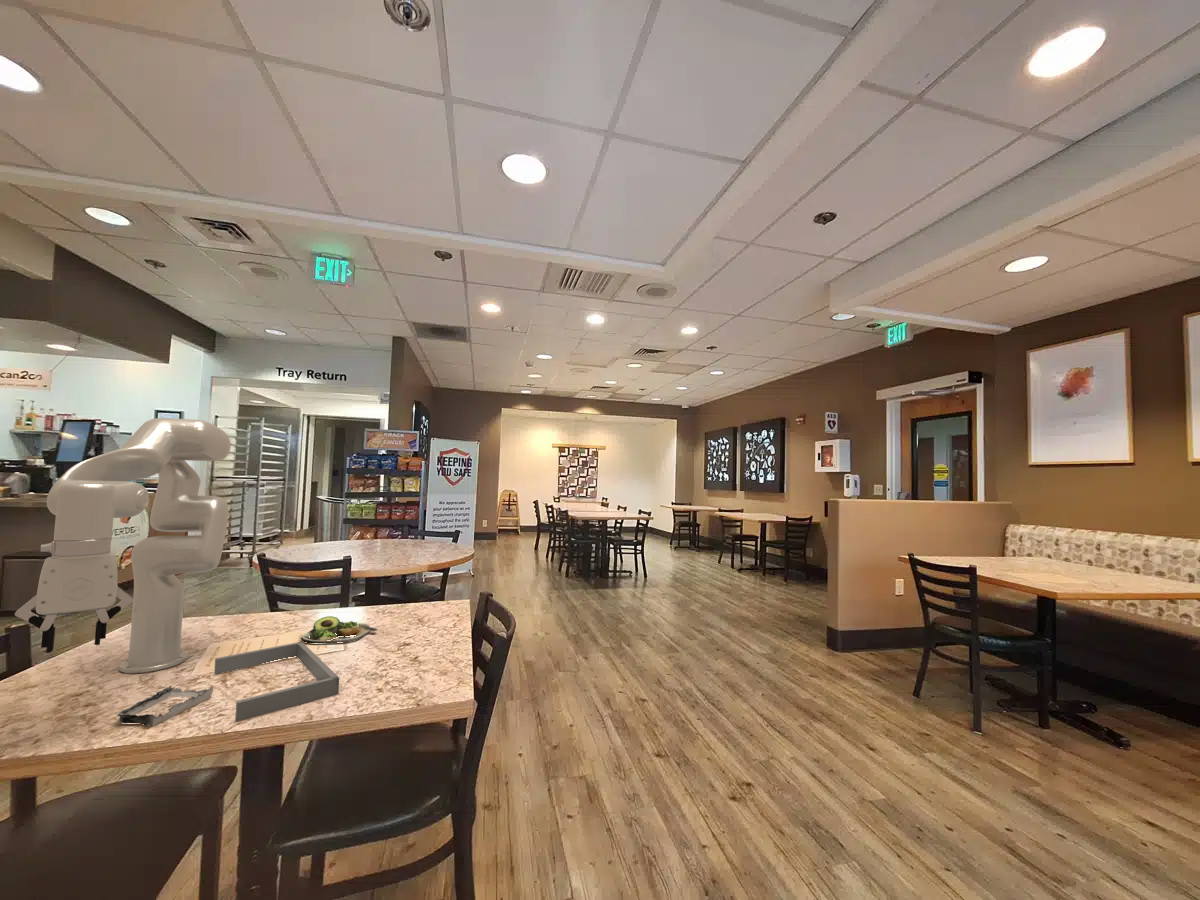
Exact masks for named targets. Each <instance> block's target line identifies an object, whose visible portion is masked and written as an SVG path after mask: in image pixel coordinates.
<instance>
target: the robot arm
mask: <svg viewBox="0 0 1200 900" xmlns="http://www.w3.org/2000/svg"><path fill="white" fill-rule="evenodd" d="M230 451H231V440H230V437H229V436H228V434H227V432H225V431H224V430H223V429H221V428H220V427H218V426H216V425H215V424H213V423H211V422H208V421H206V420H203V419H192V418H174V417H173V418H172V417H159V418H158V417H157V418H156V417H155V418H152V419H148V420H147V421H145V422H144V423H142V424H141V426H140V427H139V428H138V429H137V430H136V431H135V432H134V433H133V435H131V437H130V438H129V439H128V440H127V441H126V442H125V443H124V444H123V446H122V447H120V448H117V449H114V450H110V451H107V452H105V453H102V454H99V455H97V456H93V457H91V458H88V459H85V460H82V461H80V462H78V463H76V464H75V465H72V466H71V467H70V468H68V469H67V470H66V471H65V473H63V474H62V475H61V476H60V477H59V478H58V479H57V480H56V481H55V482H54V484H53V485H52V487H51V488H50V490H49V491H48V493H47V494H48V495H47V496H46V506H47V509H48V510H49V512H50V513H51V514H52V515H54V516H55V521H54V532H53V541H51V542H50V543H44V544H43V543H42V544H41V545H40V553H42V552H47V553H49V554H51V556H49V557H46V558H45V560H44V562H43V565H42V567H41V571H40V575H39V580H38V586H37V589H36V590H37V591H36V594H35V596H33V597H32V598H31V599H29V600H28V601H27V602H26V603H24V604H23V605H22V606H21V607H19V608H18V609H17V610H16V611H15V613H14V616H15V617H17V618H19V619H22V620H23V621H26V622H28V623H29V624H31V625H33V626H34V627H36V628H37V629H39V630H40V631H41V632H42V633H41V634H42V635H41V643H40V645H41V646H40V648H41V649H44V648H46V650H45V654H50V653H51V652H53V651H54V646H55V637H56V627H55V624H54V621H55V619H56V617H57V616H58V615H63V614H71V613H78V612H80V613H81V612H86V611H87V612H88V611H96V615H97V617H98V618H97V621H96V623H95V632H94V633H95V634H94V643H93V645H95V646H100V644H101V640H104V639H106V636H107V624H108V622H109V621H110V620H111V619H112V618H114V617H115V616H116V615H117V614H119V613H120V612H121V611H122V610H123V609H125V608H126V607H127V606H129V605H131V604H132V609H131V611H132V612H131V622H130V623H131V624H130V635H129V646H128V647H129V649H128V659H125V660H124V661H121V663H120V664H119V666H118V671H120V672H122V673H124V674H140V673H142V674H143V673H150V672H155V671H160V670H165V669H168V668H171V667H174V666H177V665H179V664H182V663H183V662H185V661H186V660H187V659H188V655H189V654H188V652H187V651H184V650H181V644H182V631H183V630H182V627H183V613H184V603H185V602H184V601H185V588H184V585H183V584H182V582H181V581H180V579H179V577H177V576H176V575H178V574H197V573H200V574H201V573H208V572H211V571H214V570H216V569H217V567H218V566H219V564H220V562H221V558H222V554H223V550H224V549H223V548H224V544H225V540H226V539H225V537H226V532H227V527H228V522H229V515H230V514H229V506H228V502H227V501H226V499H224V498H223V497H221V496H217V495H199V492H200V485H201V478H200V476H199V474H198V473H197V472H196V471H195V469H194V468H193V467H192V466H191V465H190V464H189V463H188V462H187V461H193V462H194V461H195V462H197V461H198V462H199V461H200V462H221V461H223V460H224V459H226V458H227V457H228V455H229V454H230ZM157 474H158V481H157V483H158V484H157V488H156V491H155V495H154V498H153V499H154V500H153V503H152V507H151V512H150V517H149V524H150V527H151V528H152V529H154V531H155V530H156V531H158V532H165V533H168V532H169V533H181V532H182V533H184V532H185V533H190V532H192V533H193V532H194V533H195V532H196V533H197V532H200V533H201V534H199V535H198V534H197V535H157V536H149V537H145V538H143V539H141V540H139V541H138V542H136V544H135V545H134V546H133V548H132V550H131V555H130V560H131V568H132V574H133V596H131V595H130V594H129V593H127V592H126V591H125V590H124V589H122V588H121V587H119V586H118V577H119V576H118V575H119V574H118V573H119V571H118V559H117V555H116V553H114V552H111V551H112V550H111V549H112V541H113V540H112V536H113V528H114V519H126V518H128V519H129V518H132V517H136V516H138V515H140V514H141V513H143V512H144V511H145V509H146V508H147V506H148V505H149V502H150V493H149V491H148V489H147V488H146V487H145V486H143V485H142V484H141V483H138V482H134V481H137V480H140V479H145V478H150V477H152V476H155V475H157ZM117 598H118V599H120V601H119V602H118V603H117V604H115V603H116V601H117ZM111 606H112V607H111ZM109 607H111V608H110V609H108V608H109ZM34 608H35V611H36V613H35V612H32V609H34ZM41 615H42V616H41ZM43 616H45V618H44V617H43Z"/></svg>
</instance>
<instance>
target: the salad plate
mask: <svg viewBox="0 0 1200 900" xmlns="http://www.w3.org/2000/svg"><path fill="white" fill-rule="evenodd" d="M376 631H378V628H376V627H371V626H370V625H369V624H368V623H363V622H362V623H358V622H357V621H353V620H351V621H350V620H349V622H347V621H346V622H343V621H340V619H339V618H338V617H337V616H336V617H335V616H333V615H332V616H331V615H328V616H324V617H321V618H319V619H318V620H315V622H314V623H313V625H312V629H311V630H309V631H308V632H306V633H303V634H302V635H301V636H300V638H299V639H300V640H301V642H303V641H304V642H307V643H337V642H348V643H350V642H349V641H352V642H354V641H353V640H356V641H358V640H360V639H359V638H361V637H362V636H363V637H364V636H366V635H367V634H369V633H371V632H376ZM335 633H336V634H337V635H336V634H335ZM365 634H366V635H365ZM350 635H356V636H354V637H353V638H350V637H349V638H340V639H335V640H331V639H333V638H336V637H338V636H344V637H345V636H350ZM309 636H310V638H309ZM363 637H362V638H363ZM362 638H361V639H362ZM357 639H358V640H357ZM327 640H331V641H327ZM304 642H303V643H304Z"/></svg>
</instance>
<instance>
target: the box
mask: <svg viewBox="0 0 1200 900" xmlns="http://www.w3.org/2000/svg"><path fill="white" fill-rule="evenodd" d="M294 656H297V657H298V658H299V659H300V660H301V661H300V660H299V659H298V658H297V657H296V658H297V659H298V660H299V661H300V662H301V664H303V666H304V667H305V666H306V667H307V670H308V671H309V672H310V673H311V675H313V677H315V678H316V681H312V682H307V683H304V684H299V685H295V686H292V687H287V688H284V689H279V690H276V691H271V692H268V693H264V694H260V695H256V696H251V697H247V698H243V699H239V700H236V702H235V716H234V717H235V718H234V719H235V722H236V721H237V722H240V721H244V720H247V719H248V720H249V719H250V718H251V719H252V718H254V717H258V716H261V715H265V714H269V713H273V712H276V711H281V710H284V709H288V708H292V707H294V706H295V707H296V706H298V705H302V704H305V703H311V702H313V701H317V700H320V699H324V698H328V697H331V696H332V697H333V696H336V695H339V693H340V691H339V690H340V688H339V687H340V677H339V676H338V675H337V673H335V672H334V671H333V670H332V669H331V668H329V666H328V665H327V664H326V663H324V662H323V660H322V659H320V658H319V656H317V654H315V653H314V652H313V651H312V650H311V649H310V648H309V647H308V646H307V645H306V643H304V642H303V641H298V642H292V643H288V644H282V645H278V646H272V647H266V648H261V649H256V650H250V651H246V652H242V653H241V652H240V653H236V654H230V655H225V656H219V657H216V658H215V659H214V671H213V672H214V673H215V674H216V675H219V674H218V673H220V674H223V673H222V672H225V673H228V672H227V671H230V672H233V671H232V670H235V671H237V670H236V669H239V670H241V669H240V668H244V669H247V668H246V667H249V668H251V667H250V666H254V667H256V666H255V665H258V666H260V665H259V664H262V663H266V662H270V661H274V660H278V659H283V658H288V657H294ZM306 667H305V668H306ZM214 673H213V674H214ZM215 674H214V675H215Z"/></svg>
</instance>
